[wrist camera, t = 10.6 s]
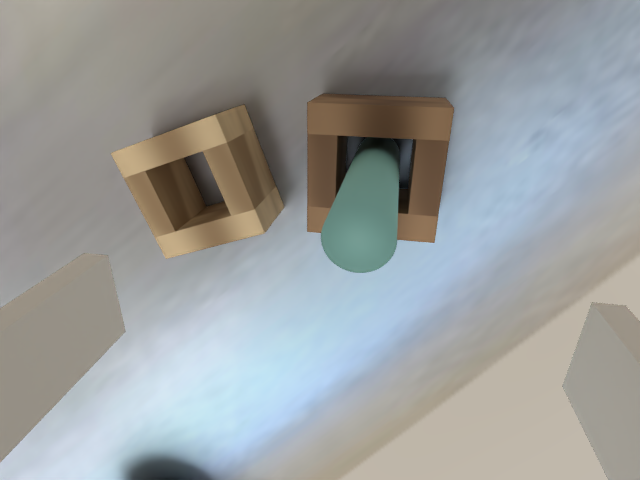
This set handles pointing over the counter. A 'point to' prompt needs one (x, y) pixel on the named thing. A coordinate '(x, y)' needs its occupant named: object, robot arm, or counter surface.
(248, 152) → the light wooden square frame
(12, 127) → the counter surface
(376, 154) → the teal cylindrical rod
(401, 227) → the brown wooden square frame
